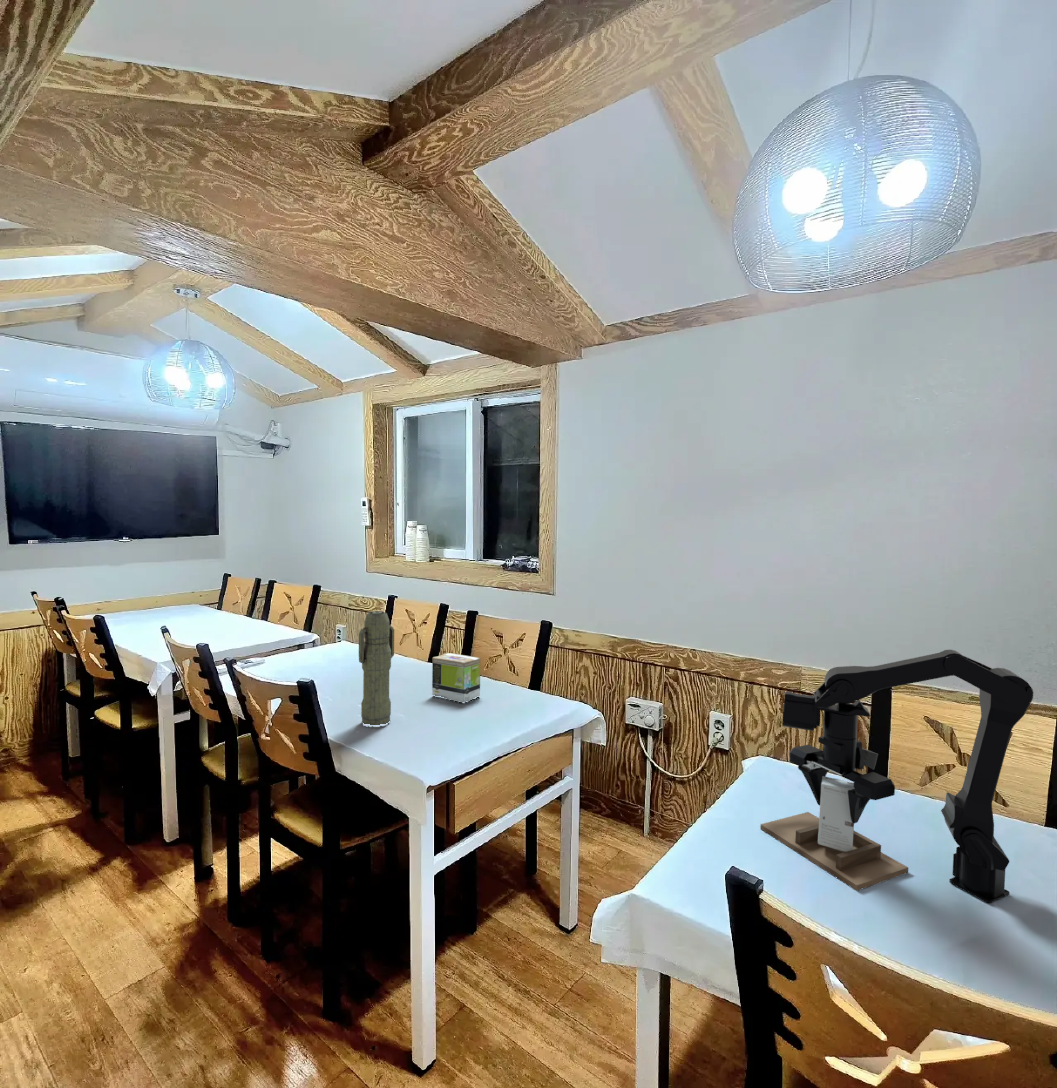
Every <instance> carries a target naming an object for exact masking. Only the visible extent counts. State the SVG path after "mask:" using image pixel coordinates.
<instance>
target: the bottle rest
mask: <svg viewBox="0 0 1057 1088" xmlns="http://www.w3.org/2000/svg"><path fill="white" fill-rule="evenodd" d="M760 830H761V831H763V832H765V833H766V834H768V835H769V836H771V837H773V838H774V839H776V840H777V841H779V842H780V843H782V844H783V845H785V846H787V847H788V848H790V849H791V850H792V851H794V852H796V853H797V854H798V855H800V856H802V857H804V858H805V859H807V860H808V861H810V862H811V863H813V864H815V865H816V866H818V867H819V868H821V869H823V870H824V871H825V872H827V873H828V872H829V874H830V875H831V876H833V877H834V878H836V877H837V878H836V879H837V880H839V879H840V880H839V881H841V880H842V881H843V883H844V884H845V883H846V884H845V885H847V886H849V885H850V886H851V887H850V886H849V887H850V888H852V889H853V888H854V889H853V890H855V891H856V890H858V891H861V890H863V889H865V887H866V888H868V887H871V886H874V885H875V886H876V885H878V884H879V883H883V882H885V881H888V880H891V879H894V878H897V877H899V876H902V875H906V874H908V873H909V867H908V866H907V865H905V864H903V863H902V862H899V861H898V860H896V859H894V858H893V857H891V856H888V855H887V854H885V853H883V852H882V851H881V850H882V845H881V844H879V843H878V842H876V841H874V840H872V839H870V838H868V837H866V836H865V835H863V834H861V833H860V832H857V831H856V830H854V833H853V849H852V850H850V851H847V852H845V851H841V850H838V849H834V848H830V847H827V846H824V845H820V844H818V833H819V816H817V815H814V814H812V813H811V812H809V811H806V812H803V813H798V814H795V815H791V816H786V817H784V818H779V819H775V820H771V821H768V822H767V821H766V822H764V823H760ZM842 881H841V882H842ZM862 888H863V889H862Z"/></svg>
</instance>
